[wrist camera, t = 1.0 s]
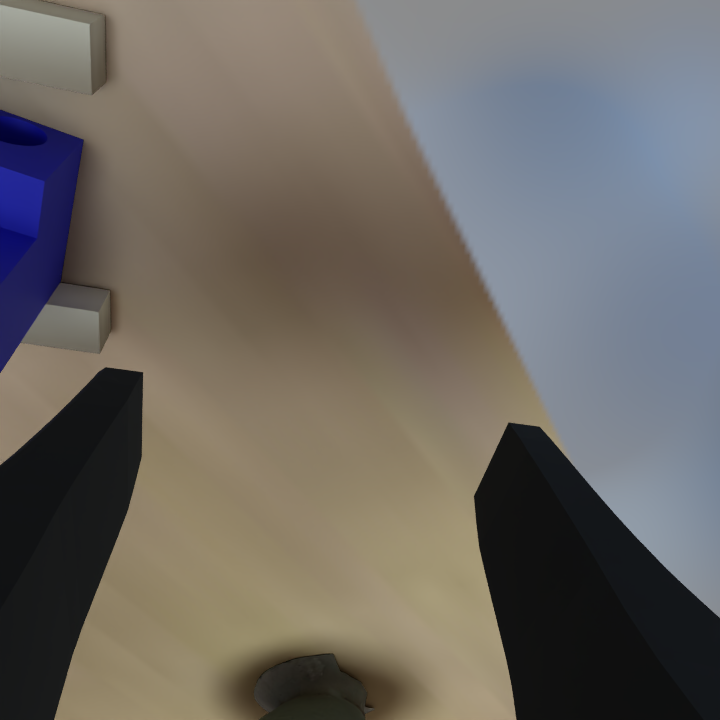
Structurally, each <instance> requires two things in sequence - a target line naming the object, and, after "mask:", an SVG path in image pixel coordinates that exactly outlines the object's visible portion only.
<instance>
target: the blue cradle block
mask: <svg viewBox="0 0 720 720" xmlns="http://www.w3.org/2000/svg"><path fill="white" fill-rule="evenodd" d="M82 147H83V139H80V138H77V137H74V136H72V135H69V134H66V133H63V132H61V131H58V130H55V129H52V128H50V127H47V126H44V125H41V124H39V123H36V122H33V121H30V120H27V119H25V118H22V117H19V116H16V115H14V114H11V113H8V112H5V111H3V110H0V373H1V371H2V370H3V368H4V367H5V365H6V364H7V362H8V361H9V359H10V357H11V356H12V354H13V353H14V351H15V350H16V348H17V347H18V345H19V344H20V342H21V341H22V339H23V338H24V336H25V335H26V333H27V332H28V330H29V329H30V327H31V326H32V324H33V323H34V321H35V320H36V318H37V317H38V315H39V314H40V312H41V311H42V309H43V308H44V306H45V305H46V303H47V302H48V300H49V299H50V297H51V296H52V294H53V292H54V291H55V289H56V288H57V286H58V285H59V283H60V282H61V276H62V270H63V264H64V258H65V252H66V245H67V239H68V233H69V227H70V221H71V215H72V208H73V202H74V196H75V190H76V184H77V177H78V171H79V165H80V159H81V153H82Z"/></svg>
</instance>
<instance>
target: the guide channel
mask: <svg viewBox="0 0 720 720" xmlns="http://www.w3.org/2000/svg"><path fill="white" fill-rule="evenodd" d="M0 77H3V78H8V79H13V80H18V81H23V82H28V83H33V84H38V85H43V86H48V87H53V88H58V89H63V90H68V91H73V92H78V93H83V94H88V95H93V94H94V93H95V92H96V91H97V90H98V89H99V88H100V87H101V86H102V85H104V84H105V83H106V47H105V15H103V14H99V13H94V12H90V11H85V10H81V9H76V8H71V7H67V6H62V5H58V4H53V3H49V2H44V1H40V0H0ZM110 332H111V317H110V290H104V289H98V288H91V287H85V286H78V285H72V284H65V283H59V285H58V286H57V288H56V289H55V291H54V292H53V294H52V296H51V297H50V299H49V300H48V302H47V303H46V305H45V306H44V308H43V309H42V311H41V312H40V314H39V315H38V317H37V318H36V320H35V321H34V323H33V324H32V326H31V327H30V329H29V330H28V332H27V333H26V335H25V336H24V338H23V339H22V341H21V342H20V343H26V344H33V345H40V346H47V347H54V348H61V349H68V350H76V351H83V352H90V353H97V354H100V353H101V351H102V348H103V346H104V344H105V342H106V340H107V338H108V336H109V334H110Z"/></svg>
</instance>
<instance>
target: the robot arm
mask: <svg viewBox="0 0 720 720" xmlns="http://www.w3.org/2000/svg"><path fill="white" fill-rule="evenodd" d="M142 401H143V372H136V371H129V370H122V369H114V368H107V367H106V368H104V369H103V370H101V371H99V372H98V373H97V374H96V375H95V377H94V378H93V379H92V380H91V381H90V382H89V383H88V384H87V385H86V386H85V387H84V388H83V389H82V390H81V391H80V392H79V393H78V394H77V395H76V396H75V397H74V398H73V399H72V400H71V401H70V402H69V403H68V404H67V405H66V406H65V407H64V408H63V409H62V410H61V411H60V412H59V413H58V414H57V415H56V416H55V417H54V418H53V419H52V420H51V421H50V422H49V423H48V424H46V425H45V426H44V427H43V428H42V429H41V430H40V431H39V432H38V433H37V434H36V435H34V436H33V437H32V438H31V439H30V440H29V441H28V442H27V443H26V444H25V445H24V446H22V447H21V448H20V449H19V450H18V451H17V452H16V453H14V454H13V455H12V456H11V457H10V458H8V459H7V460H6V461H5V462H4V463H2V464H1V465H0V720H54V718H55V714H56V711H57V707H58V704H59V700H60V697H61V693H62V690H63V686H64V683H65V679H66V676H67V672H68V669H69V665H70V662H71V658H72V655H73V652H74V649H75V647H76V644H77V641H78V638H79V635H80V632H81V629H82V627H83V624H84V621H85V619H86V616H87V614H88V611H89V609H90V606H91V604H92V601H93V598H94V596H95V593H96V591H97V588H98V586H99V583H100V581H101V578H102V576H103V573H104V570H105V568H106V565H107V563H108V560H109V558H110V555H111V553H112V550H113V547H114V545H115V542H116V540H117V537H118V535H119V532H120V529H121V527H122V524H123V522H124V519H125V516H126V514H127V511H128V508H129V504H130V500H131V496H132V493H133V489H134V485H135V481H136V477H137V473H138V469H139V465H140V461H141V457H142ZM474 501H475V512H476V524H477V532H478V540H479V548H480V552H481V557H482V561H483V565H484V570H485V574H486V578H487V582H488V587H489V591H490V595H491V599H492V603H493V607H494V611H495V615H496V619H497V623H498V627H499V631H500V636H501V640H502V644H503V648H504V652H505V656H506V660H507V665H508V670H509V675H510V680H511V685H512V691H513V698H514V705H515V712H516V719H517V720H720V618H719V617H718V616H717V615H716V614H714V613H713V612H712V611H711V610H710V609H709V608H708V607H707V606H706V605H704V603H703V602H701V601H700V600H699V599H698V598H697V597H696V596H695V595H694V594H693V593H692V592H691V591H689V590H688V589H687V588H686V587H685V586H684V585H683V584H682V583H681V582H680V581H679V580H677V578H676V577H675V576H673V575H672V574H671V573H670V572H669V571H668V570H667V569H666V568H665V567H664V566H663V565H662V564H661V563H660V562H659V561H658V560H657V559H656V557H655V556H654V555H653V554H652V553H651V552H650V551H649V550H648V549H647V548H646V547H645V546H644V545H643V544H642V543H641V542H640V541H639V540H638V539H637V538H636V537H635V536H634V535H633V534H632V532H631V531H630V530H629V529H628V528H627V527H626V526H625V525H624V524H623V523H622V521H621V520H620V519H619V518H618V517H617V516H616V515H615V514H614V513H613V511H612V510H611V509H610V508H609V507H608V506H607V505H606V504H605V502H604V501H603V500H602V499H601V498H600V497H599V495H598V494H597V493H596V492H595V491H594V490H593V488H592V487H591V486H590V485H589V484H588V483H587V481H586V480H585V479H584V478H583V477H582V475H581V474H580V473H579V472H578V471H577V470H576V468H575V467H574V466H573V465H572V464H571V462H570V461H569V460H568V459H567V458H566V456H565V455H564V454H563V453H562V452H561V451H560V449H559V448H558V447H557V446H556V445H555V444H554V442H553V441H552V440H551V439H550V438H549V437H548V436H547V434H546V433H545V432H544V431H543V430H542V429H541V428H540V427H537V426H530V425H523V424H515V423H508V425H507V427H506V429H505V431H504V434H503V436H502V438H501V440H500V442H499V444H498V446H497V448H496V451H495V453H494V455H493V457H492V459H491V461H490V463H489V466H488V468H487V470H486V472H485V474H484V476H483V478H482V480H481V483H480V485H479V487H478V489H477V491H476V493H475V495H474Z"/></svg>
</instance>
